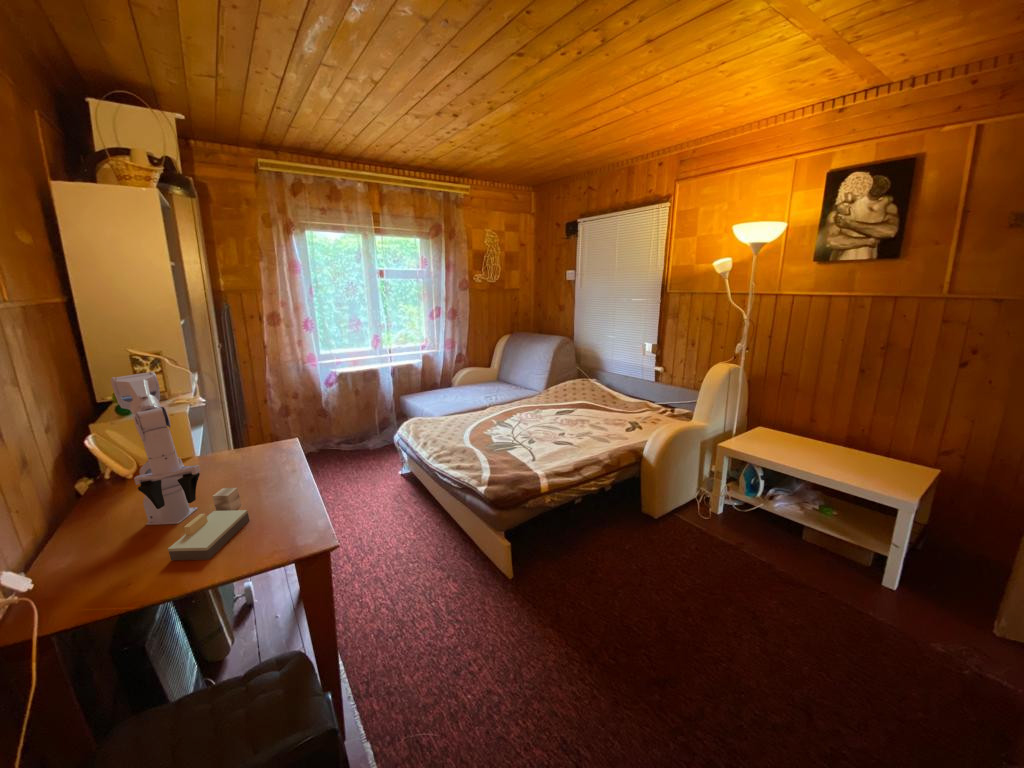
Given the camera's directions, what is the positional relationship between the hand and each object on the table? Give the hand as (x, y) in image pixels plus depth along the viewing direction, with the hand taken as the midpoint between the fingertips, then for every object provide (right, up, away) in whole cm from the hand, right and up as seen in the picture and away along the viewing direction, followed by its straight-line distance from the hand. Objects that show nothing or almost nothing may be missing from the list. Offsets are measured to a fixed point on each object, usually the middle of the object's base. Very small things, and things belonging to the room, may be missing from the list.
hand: (176, 504), depth 110 cm
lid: (+7, -8, +2) cm, 11 cm away
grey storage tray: (+8, -10, +3) cm, 13 cm away
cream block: (+3, -6, +17) cm, 18 cm away
